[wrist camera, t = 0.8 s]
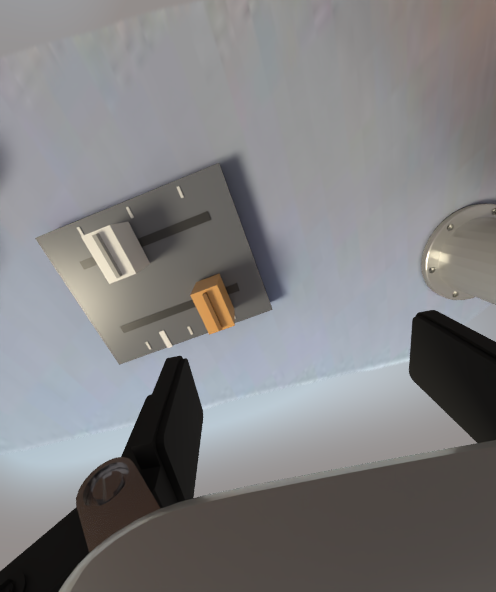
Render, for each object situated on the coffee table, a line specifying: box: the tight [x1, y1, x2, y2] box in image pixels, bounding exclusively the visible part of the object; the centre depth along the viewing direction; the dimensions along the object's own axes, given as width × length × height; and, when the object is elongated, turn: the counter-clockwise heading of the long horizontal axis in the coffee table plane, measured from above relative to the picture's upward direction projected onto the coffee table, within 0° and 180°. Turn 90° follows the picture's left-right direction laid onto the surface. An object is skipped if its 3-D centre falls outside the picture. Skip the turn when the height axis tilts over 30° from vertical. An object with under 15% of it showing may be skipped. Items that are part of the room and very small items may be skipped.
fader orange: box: [190, 274, 235, 335], centre depth 29 cm, size 3×5×5 cm, turn 20°
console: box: [35, 163, 273, 365], centre depth 32 cm, size 22×18×2 cm
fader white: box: [81, 222, 150, 284], centre depth 26 cm, size 3×5×5 cm, turn 20°
